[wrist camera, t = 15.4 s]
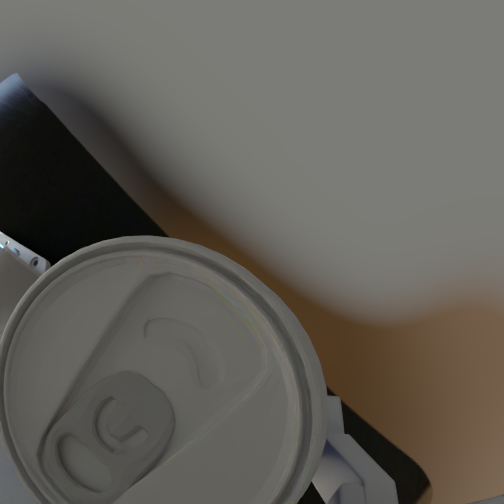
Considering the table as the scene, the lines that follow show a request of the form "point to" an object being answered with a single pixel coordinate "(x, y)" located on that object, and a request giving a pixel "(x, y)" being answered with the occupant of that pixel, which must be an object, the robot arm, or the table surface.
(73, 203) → the table surface
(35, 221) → the table surface
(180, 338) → the beverage can
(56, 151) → the table surface
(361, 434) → the table surface
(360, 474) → the robot arm
